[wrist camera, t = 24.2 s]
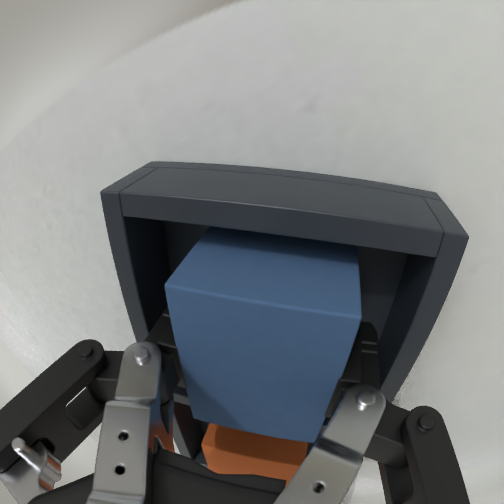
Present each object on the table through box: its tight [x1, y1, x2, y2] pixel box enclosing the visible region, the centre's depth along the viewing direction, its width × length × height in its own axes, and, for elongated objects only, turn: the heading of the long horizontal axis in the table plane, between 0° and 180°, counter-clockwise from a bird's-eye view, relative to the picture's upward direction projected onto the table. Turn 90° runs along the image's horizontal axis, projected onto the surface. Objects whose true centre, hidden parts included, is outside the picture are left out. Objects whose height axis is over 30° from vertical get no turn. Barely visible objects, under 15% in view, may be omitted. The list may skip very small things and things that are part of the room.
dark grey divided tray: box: [100, 162, 469, 469], centre depth 14 cm, size 11×20×3 cm, turn 179°
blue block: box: [165, 226, 362, 443], centre depth 11 cm, size 5×7×4 cm
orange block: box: [201, 423, 308, 487], centre depth 16 cm, size 5×7×4 cm
